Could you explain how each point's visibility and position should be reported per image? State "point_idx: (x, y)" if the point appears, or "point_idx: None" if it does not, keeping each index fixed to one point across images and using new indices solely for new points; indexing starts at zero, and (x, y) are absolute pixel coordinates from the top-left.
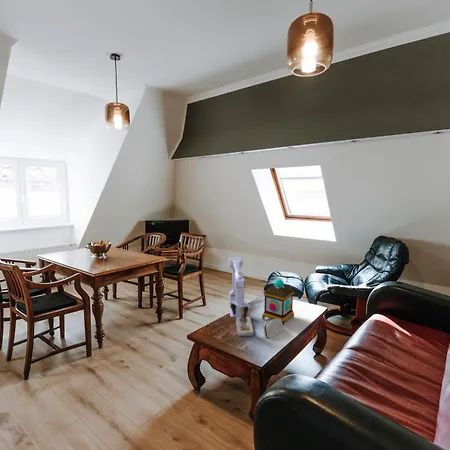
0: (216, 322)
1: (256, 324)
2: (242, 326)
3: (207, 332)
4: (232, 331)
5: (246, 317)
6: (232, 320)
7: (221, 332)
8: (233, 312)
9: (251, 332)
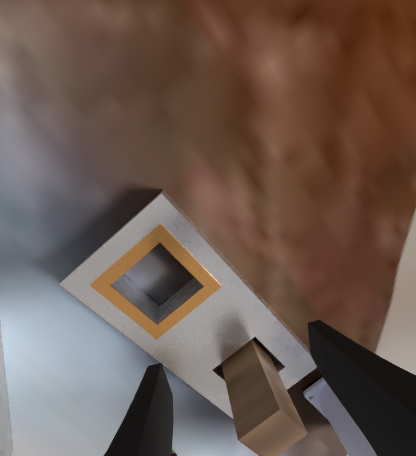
0: (402, 238)
1: None
2: (195, 293)
3: (395, 66)
4: (238, 214)
5: None
6: None
7: (300, 144)
8: (350, 348)
9: (73, 271)
